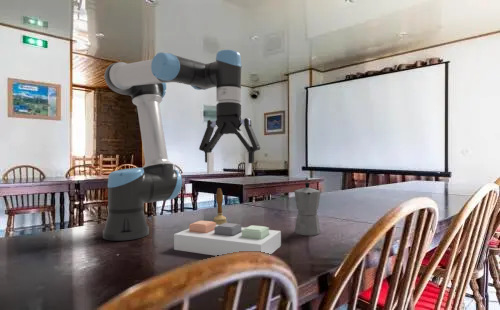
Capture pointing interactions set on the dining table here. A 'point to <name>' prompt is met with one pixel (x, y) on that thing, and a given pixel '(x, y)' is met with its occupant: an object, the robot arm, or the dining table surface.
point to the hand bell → (219, 208)
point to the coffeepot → (307, 211)
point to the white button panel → (224, 242)
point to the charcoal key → (228, 229)
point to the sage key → (255, 232)
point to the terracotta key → (202, 226)
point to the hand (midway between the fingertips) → (228, 174)
